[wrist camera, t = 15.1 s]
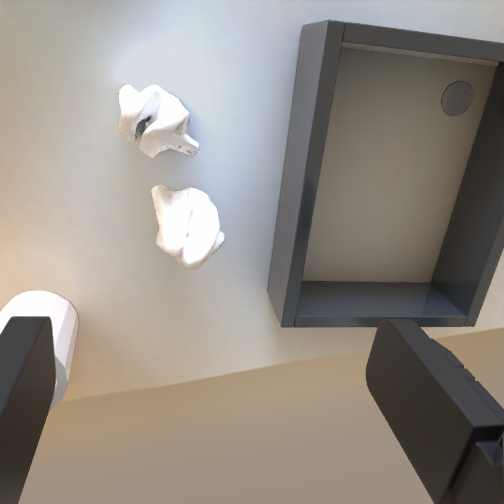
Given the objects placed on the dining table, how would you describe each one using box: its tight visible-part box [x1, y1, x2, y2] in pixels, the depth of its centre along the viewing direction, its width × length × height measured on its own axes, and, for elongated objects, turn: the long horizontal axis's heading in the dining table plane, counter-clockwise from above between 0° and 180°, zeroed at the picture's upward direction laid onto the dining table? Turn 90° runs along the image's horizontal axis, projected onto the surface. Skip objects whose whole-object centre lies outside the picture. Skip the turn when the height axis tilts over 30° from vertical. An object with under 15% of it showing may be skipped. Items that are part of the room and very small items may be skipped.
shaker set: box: [118, 85, 225, 270], centre depth 26 cm, size 12×4×11 cm, turn 13°
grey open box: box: [267, 20, 504, 327], centre depth 31 cm, size 16×20×6 cm
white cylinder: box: [0, 290, 79, 410], centre depth 31 cm, size 7×7×7 cm
